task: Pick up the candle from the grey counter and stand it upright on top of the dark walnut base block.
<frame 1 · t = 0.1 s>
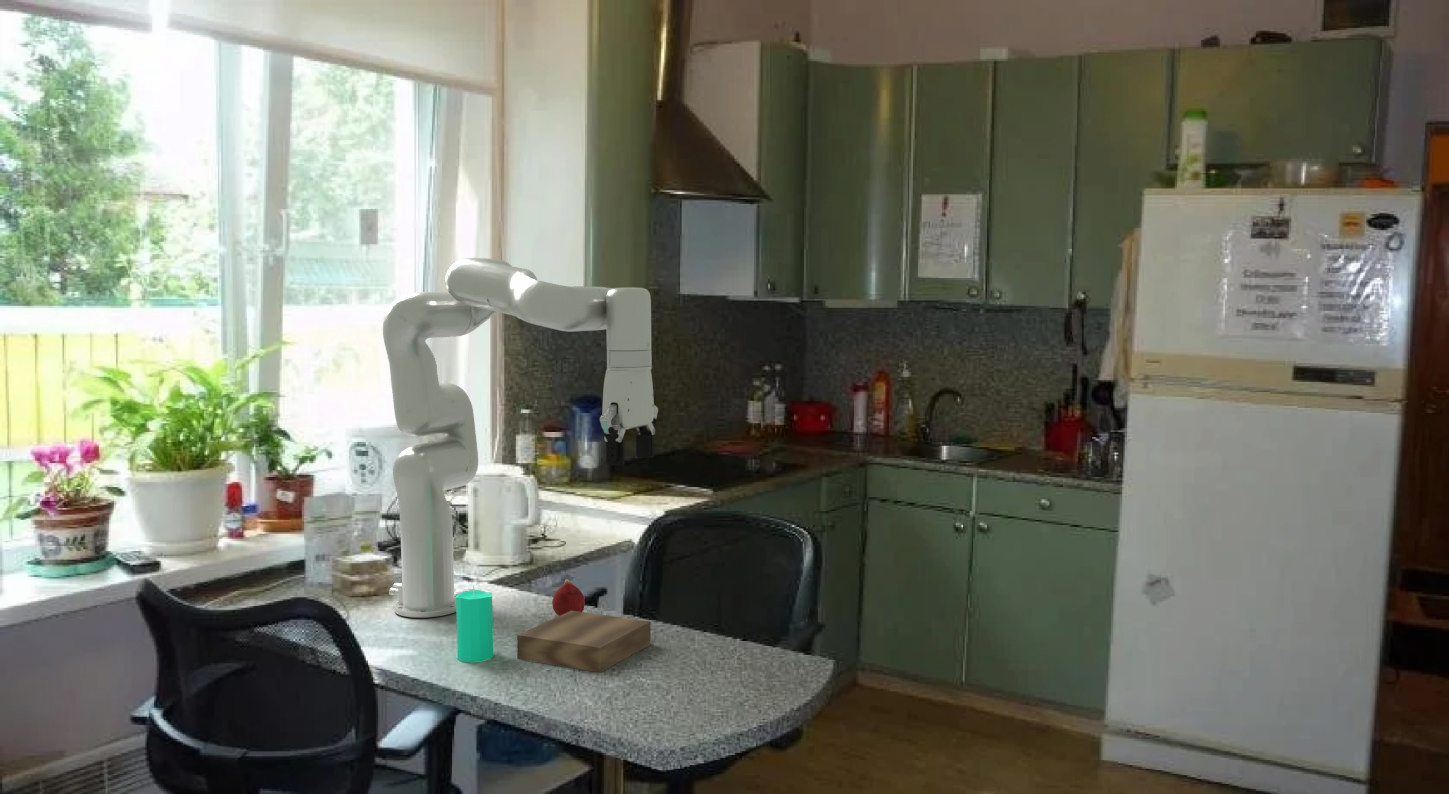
hand: (630, 461, 197), 31 cm above the counter, tool pointing down, fingers open, 9 cm apart
candle: (475, 657, 191), on the counter
onion: (568, 623, 211), on the counter
walnut base: (585, 651, 194), on the counter
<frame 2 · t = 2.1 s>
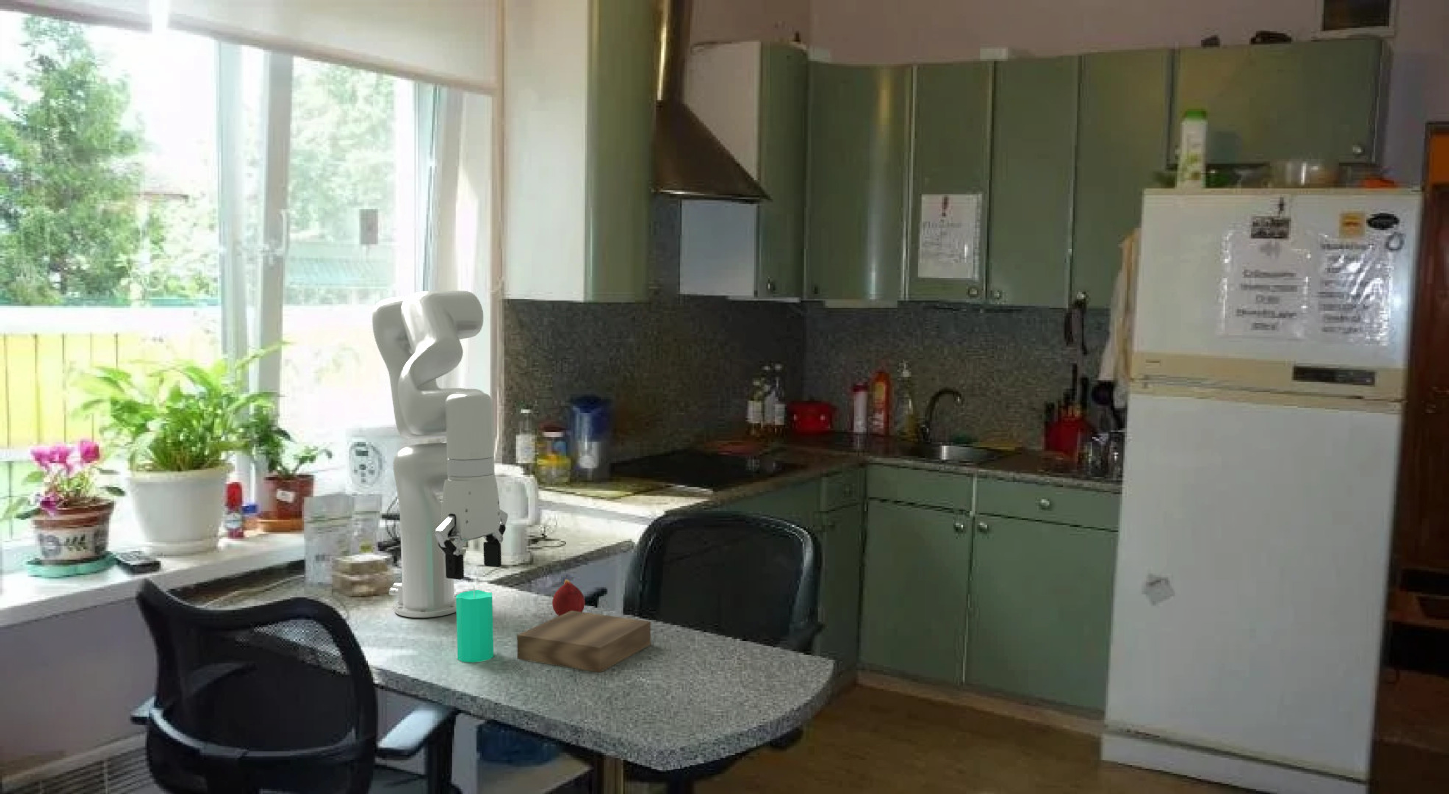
hand: (474, 572, 190), 14 cm above the counter, tool pointing down, fingers open, 9 cm apart
nothing on the counter moved.
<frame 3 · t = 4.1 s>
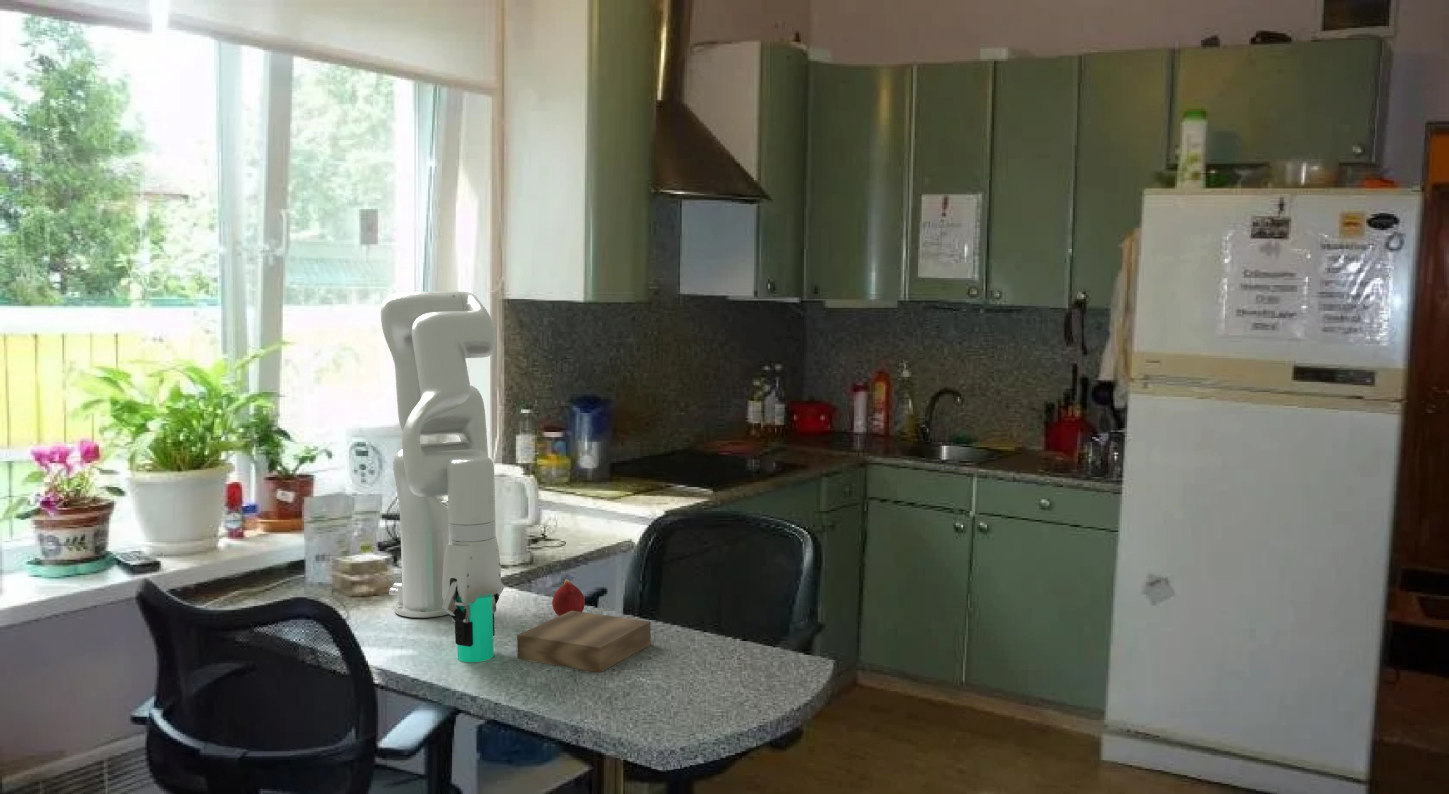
hand: (475, 639, 191), 3 cm above the counter, tool pointing down, fingers closed on candle, 4 cm apart
candle: (475, 657, 191), on the counter, touching gripper
everything else where it was.
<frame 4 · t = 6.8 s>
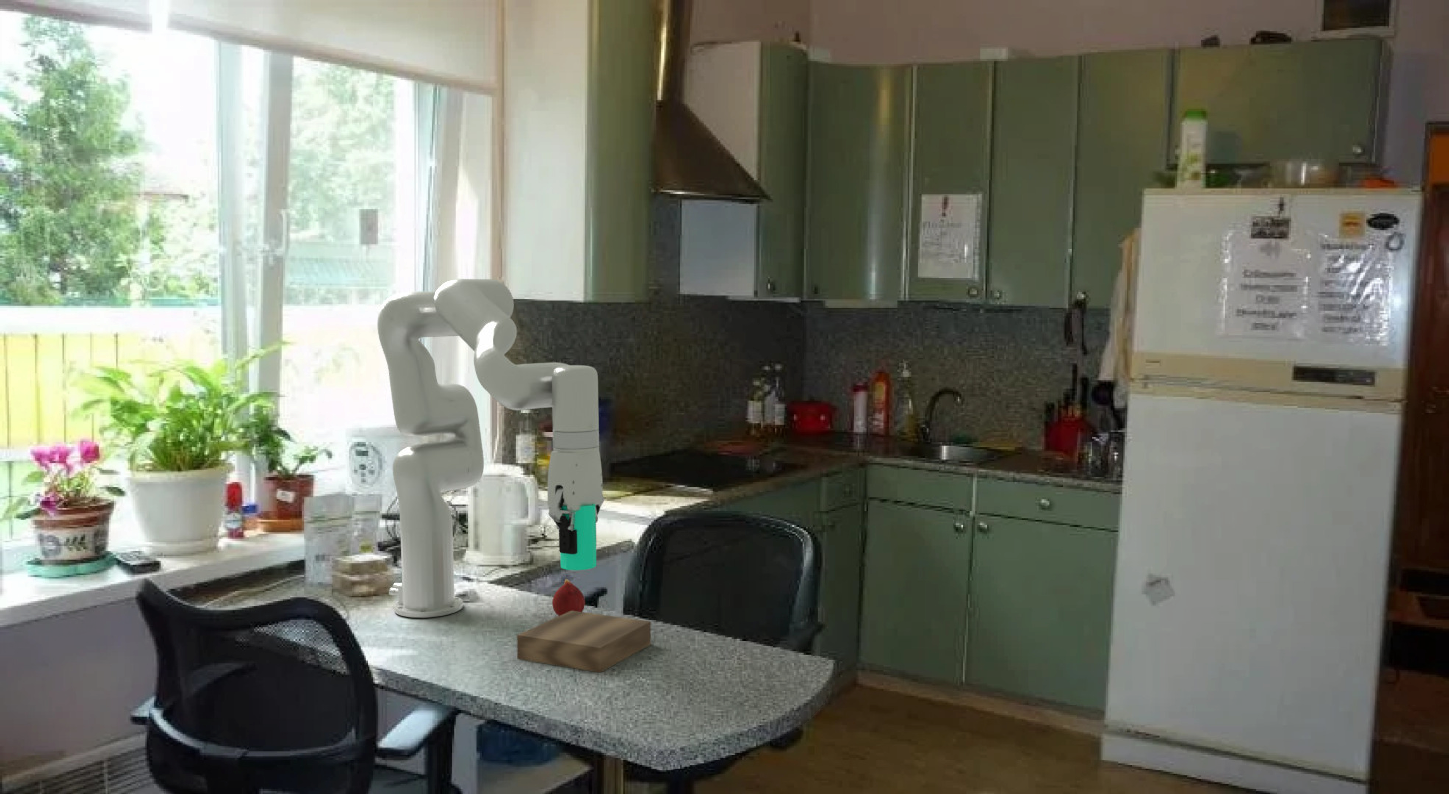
hand: (578, 548, 192), 18 cm above the counter, tool pointing down, fingers closed on candle, 4 cm apart
candle: (578, 567, 192), point 14 cm above the counter, touching gripper
everything else where it was.
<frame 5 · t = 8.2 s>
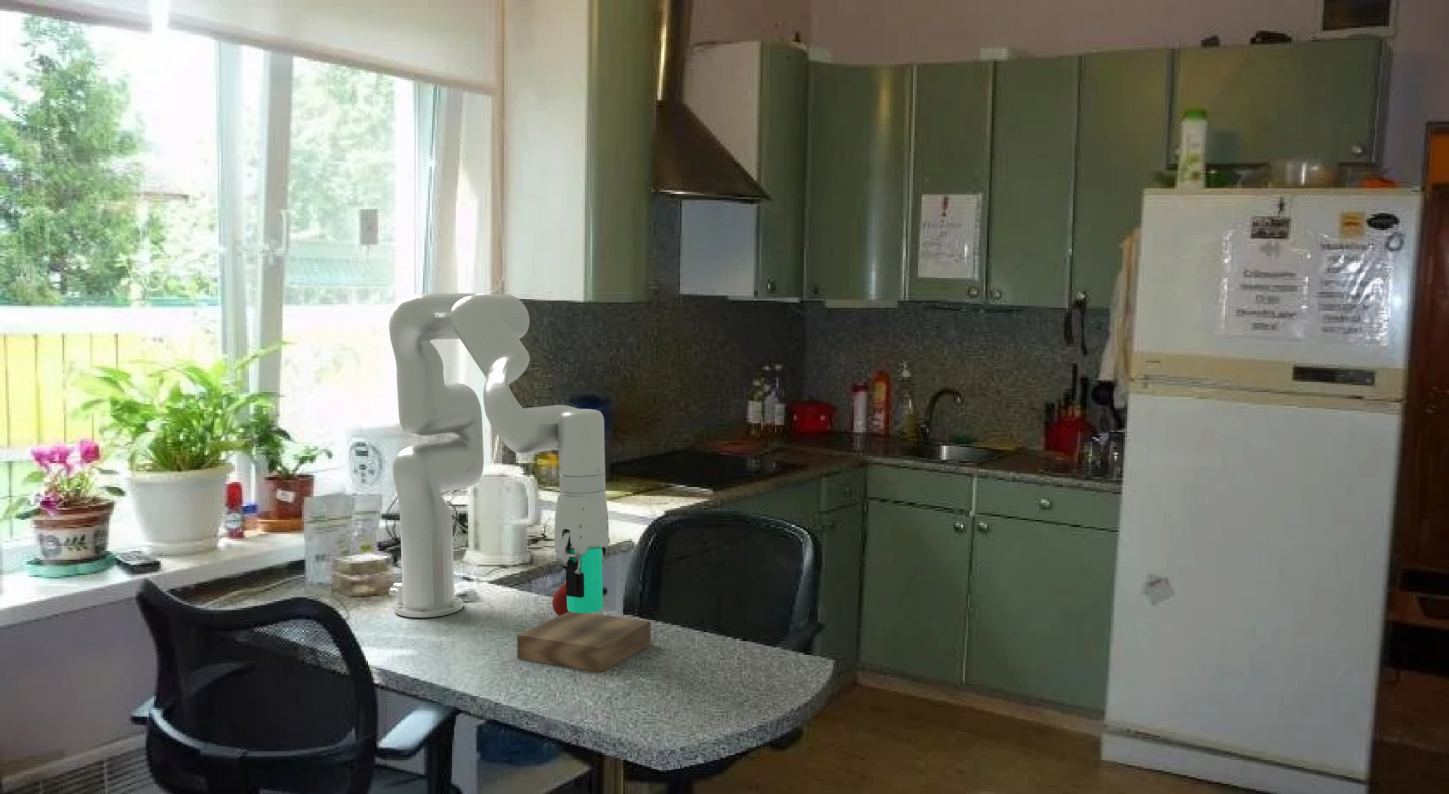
hand: (584, 591, 193), 10 cm above the counter, tool pointing down, fingers closed on candle, 4 cm apart
candle: (585, 609, 193), point 7 cm above the counter, touching gripper
everything else where it was.
when the fingers open (8 cm above the counter, at t = 9.4 s): candle drops 1 cm, resting on walnut base.
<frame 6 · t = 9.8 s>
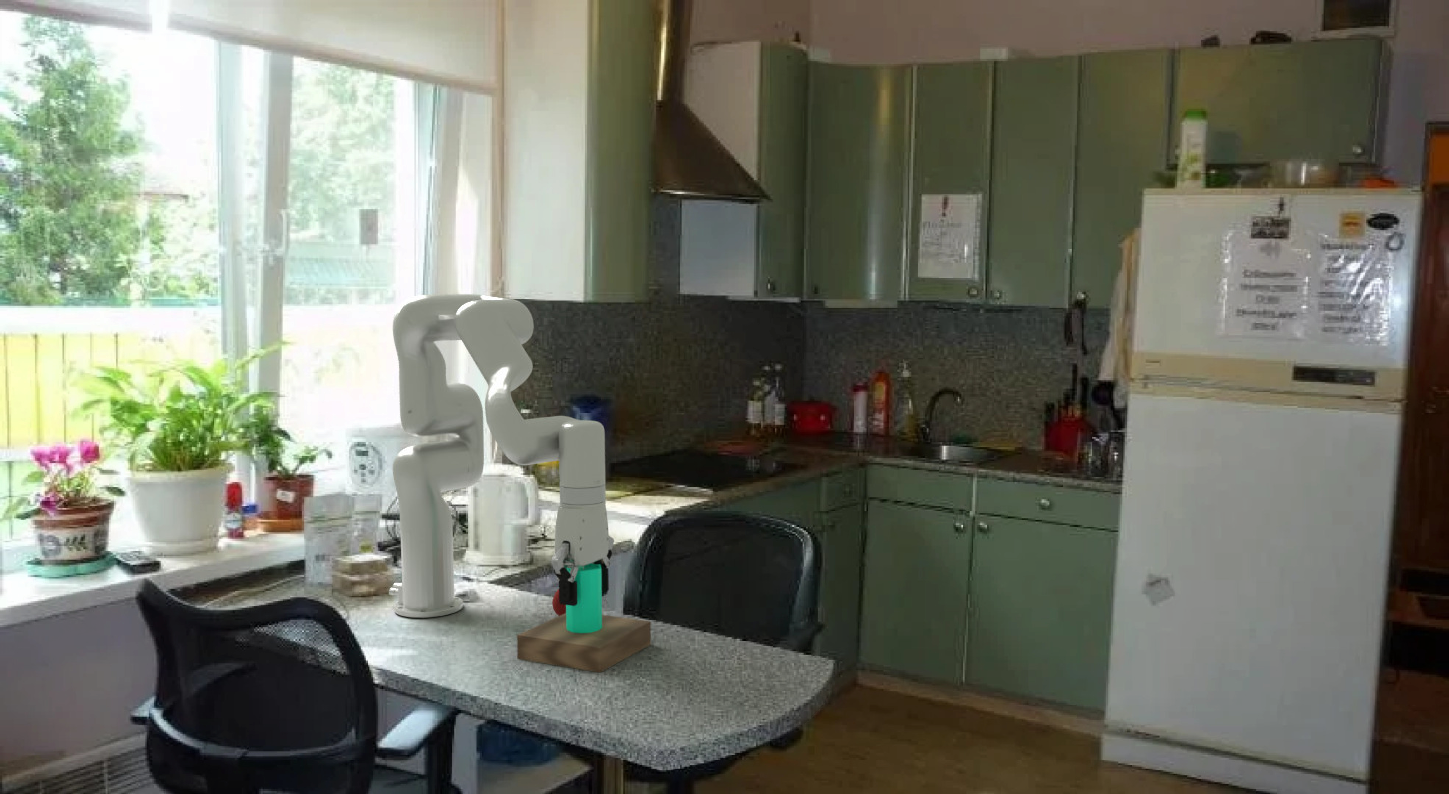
hand: (584, 597, 193), 9 cm above the counter, tool pointing down, fingers open, 9 cm apart
candle: (584, 628, 194), point 4 cm above the counter, touching walnut base
everything else where it was.
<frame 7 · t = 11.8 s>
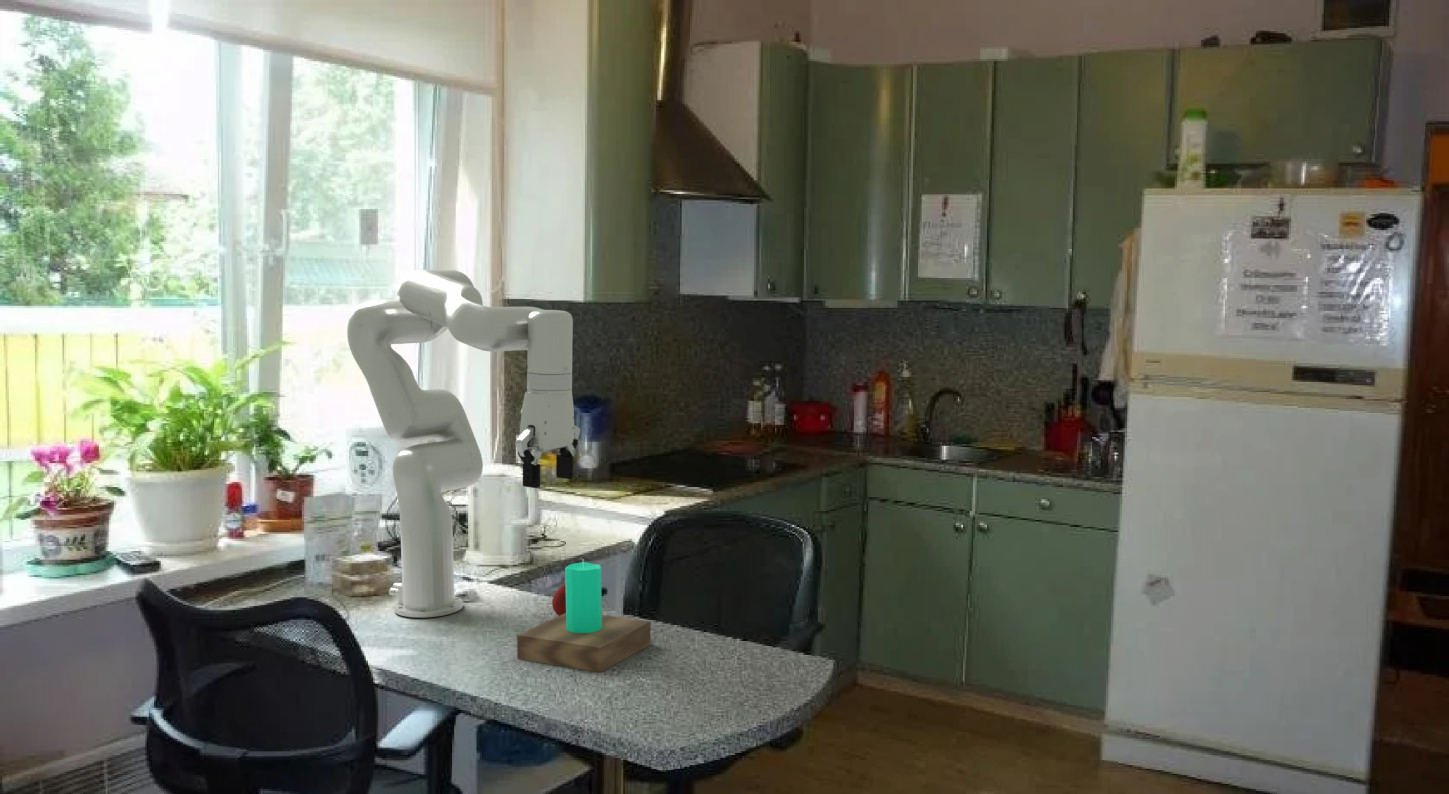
hand: (548, 482, 198), 27 cm above the counter, tool pointing down, fingers open, 9 cm apart
nothing on the counter moved.
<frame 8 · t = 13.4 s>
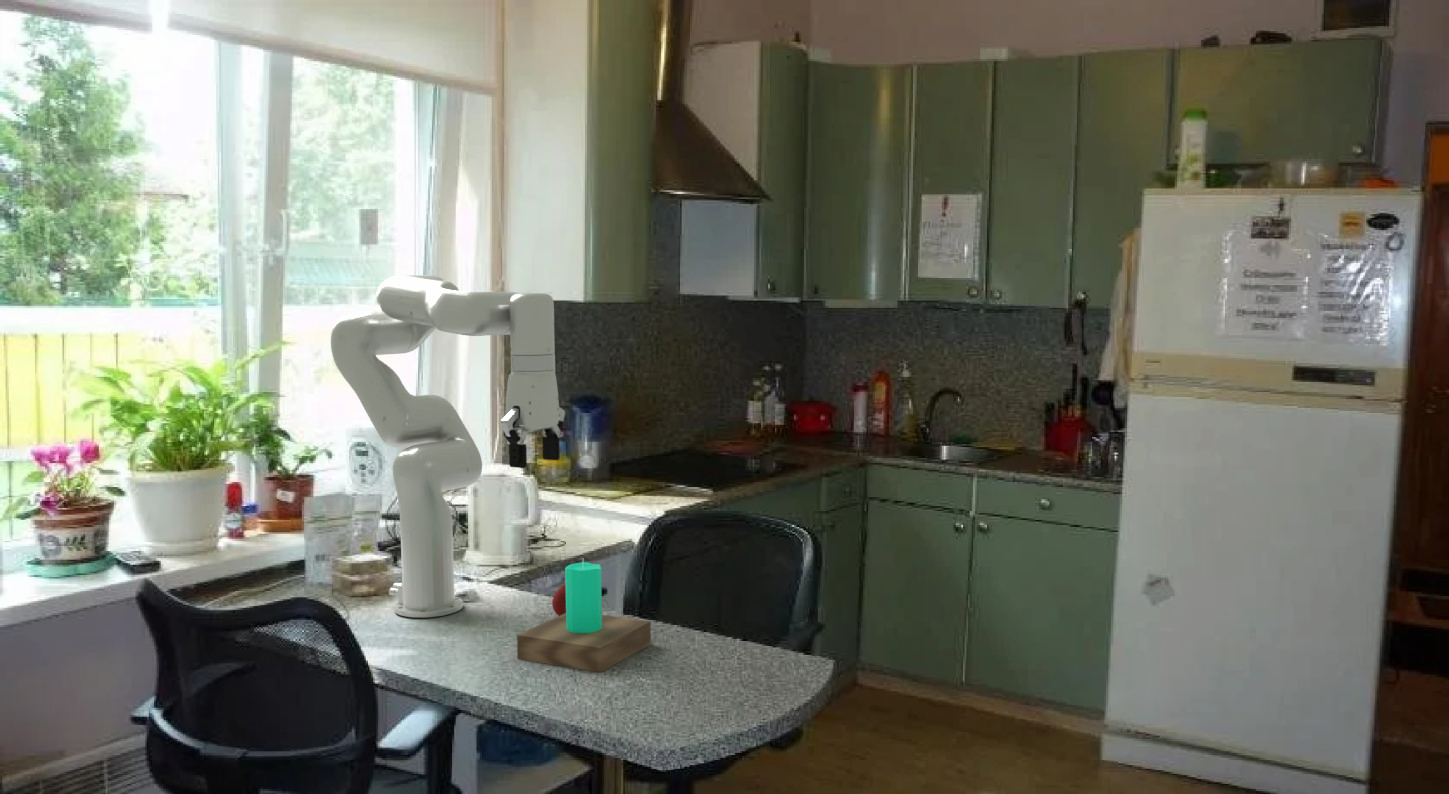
hand: (535, 463, 201), 30 cm above the counter, tool pointing down, fingers open, 9 cm apart
nothing on the counter moved.
at the end: candle inside the target area on the walnut base (0.2 cm from its centre), point 3.8 cm above the walnut base's base; candle tilted 0°; the gripper is holding nothing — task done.
